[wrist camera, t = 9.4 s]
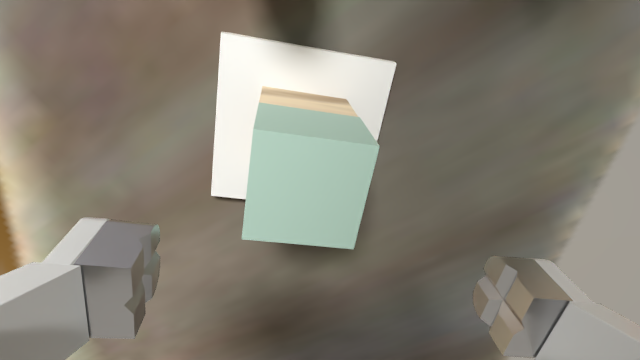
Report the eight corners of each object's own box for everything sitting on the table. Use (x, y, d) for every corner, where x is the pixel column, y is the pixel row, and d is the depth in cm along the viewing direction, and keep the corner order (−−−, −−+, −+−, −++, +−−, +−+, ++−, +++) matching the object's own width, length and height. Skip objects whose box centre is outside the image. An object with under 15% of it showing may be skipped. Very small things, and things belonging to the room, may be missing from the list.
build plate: (223, 31, 25) (220, 32, 24) (392, 61, 27) (396, 63, 26) (213, 189, 30) (211, 195, 29) (357, 205, 32) (359, 211, 31)
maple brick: (262, 86, 26) (258, 103, 22) (346, 98, 27) (359, 118, 23) (253, 165, 29) (248, 195, 24) (331, 174, 29) (340, 205, 25)
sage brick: (258, 102, 22) (253, 129, 17) (359, 117, 22) (379, 146, 18) (248, 194, 24) (241, 239, 20) (340, 204, 25) (353, 249, 20)
